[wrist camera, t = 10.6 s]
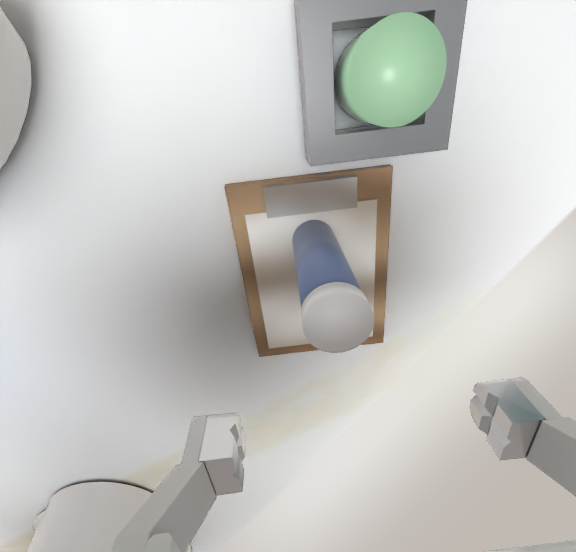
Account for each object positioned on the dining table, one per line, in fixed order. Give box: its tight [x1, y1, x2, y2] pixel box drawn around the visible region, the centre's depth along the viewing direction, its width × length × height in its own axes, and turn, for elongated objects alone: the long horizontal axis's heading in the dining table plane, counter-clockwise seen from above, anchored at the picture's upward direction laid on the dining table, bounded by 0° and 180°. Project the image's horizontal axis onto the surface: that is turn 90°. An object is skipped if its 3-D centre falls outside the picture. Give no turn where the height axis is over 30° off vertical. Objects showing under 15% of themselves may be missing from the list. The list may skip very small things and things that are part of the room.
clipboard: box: [225, 165, 393, 357], centre depth 24 cm, size 15×11×1 cm
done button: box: [335, 12, 447, 127], centre depth 16 cm, size 4×4×4 cm
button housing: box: [294, 0, 467, 166], centre depth 18 cm, size 8×8×2 cm
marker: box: [292, 220, 374, 353], centre depth 18 cm, size 3×3×10 cm
